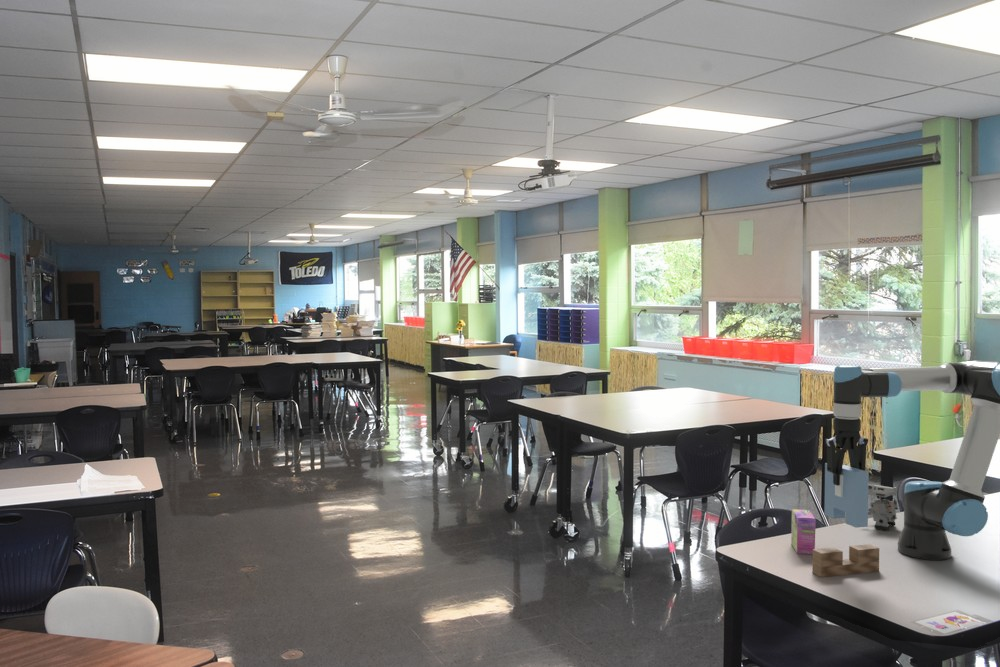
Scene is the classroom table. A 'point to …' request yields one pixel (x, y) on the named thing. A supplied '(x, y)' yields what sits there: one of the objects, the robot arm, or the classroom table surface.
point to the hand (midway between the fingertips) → (845, 495)
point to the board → (848, 496)
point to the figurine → (882, 506)
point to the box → (803, 531)
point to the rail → (845, 561)
